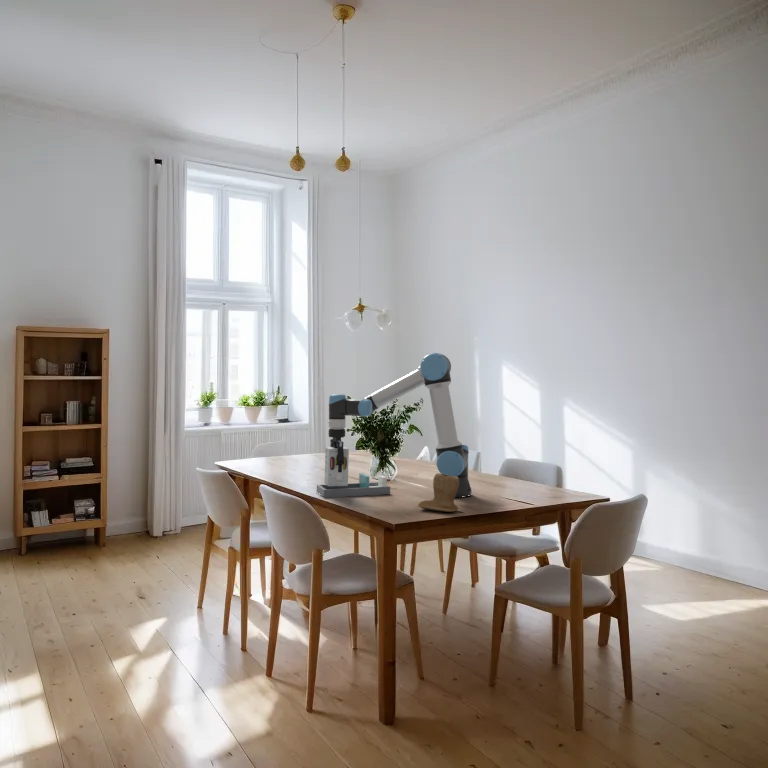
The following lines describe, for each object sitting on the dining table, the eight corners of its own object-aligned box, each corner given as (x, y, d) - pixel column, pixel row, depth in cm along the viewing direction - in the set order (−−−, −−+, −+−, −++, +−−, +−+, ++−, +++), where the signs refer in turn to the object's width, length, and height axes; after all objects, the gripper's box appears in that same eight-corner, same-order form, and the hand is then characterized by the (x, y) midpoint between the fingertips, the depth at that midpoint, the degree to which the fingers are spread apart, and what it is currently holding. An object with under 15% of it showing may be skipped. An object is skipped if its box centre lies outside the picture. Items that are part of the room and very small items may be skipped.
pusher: (388, 491, 311) (388, 475, 310) (365, 492, 307) (366, 476, 307) (380, 487, 321) (380, 472, 320) (359, 488, 317) (359, 473, 317)
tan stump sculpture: (464, 510, 276) (465, 473, 275) (450, 515, 266) (451, 477, 265) (431, 506, 284) (432, 470, 284) (417, 510, 274) (417, 473, 274)
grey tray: (390, 494, 309) (390, 486, 309) (323, 497, 299) (323, 489, 299) (380, 489, 322) (380, 482, 322) (316, 492, 312) (316, 484, 312)
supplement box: (327, 486, 302) (328, 448, 302) (323, 483, 311) (324, 446, 311) (348, 485, 305) (349, 448, 305) (344, 482, 314) (344, 446, 314)
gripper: (323, 426, 317) (322, 474, 317) (335, 430, 296) (334, 481, 296) (338, 426, 319) (338, 473, 320) (351, 430, 298) (351, 481, 299)
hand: (336, 477), depth 308 cm, fingers closed on supplement box, 9 cm apart
